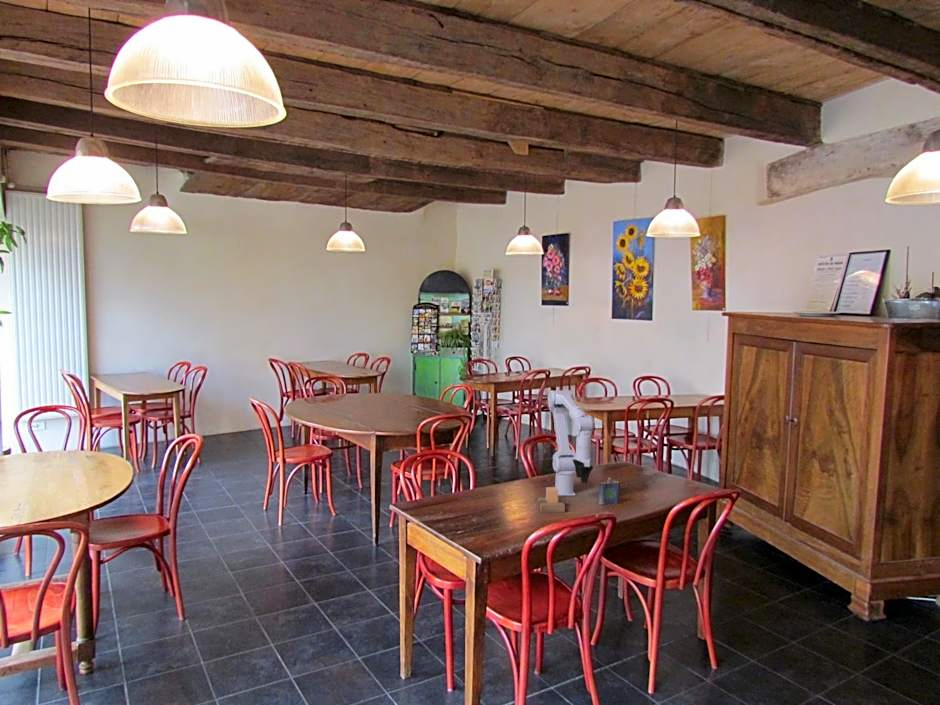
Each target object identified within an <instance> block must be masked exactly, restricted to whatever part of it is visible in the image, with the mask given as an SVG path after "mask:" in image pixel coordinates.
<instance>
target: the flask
mask: <svg viewBox="0 0 940 705" xmlns="http://www.w3.org/2000/svg"><path fill="white" fill-rule="evenodd" d="M606 479H607V480H606V481H602V482H599V487H598V489H599V490H598V502H597V503H598V505H599V506H611V505H619V504H620V492H621V491H620V490H621V482H620V481H618V480H612V479H611V477H606Z"/></svg>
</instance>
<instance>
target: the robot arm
mask: <svg viewBox="0 0 940 705" xmlns="http://www.w3.org/2000/svg"><path fill="white" fill-rule="evenodd" d="M547 404H548V409H549V411H550V412H551V413H552V416H553V417H552V418H553V423H554V431H555V438H556V445H557V450H556V451H555V452H554V454H553V455H552V468H553V470H554V472H555V476H554V478H555V481H554V487H556V488H557V489H558V497H559V496H576V493H575V492H574V483H575V482H574V480H575V479H574V478H575V475H576V478H580V480H581V481H580V482H581V483H582V484H587V483H588V482H589V477H590V474H591V472H592V470H593V468H594V466H593V465H591V459H592V458H591V447H592V446H591V442H592V431H594V429H595V421H594V417H593V416H592V415H587V414H586V412H585V411H584V409H582V407H581V406H579V405H577V404H576V403H575V400H574V393H573V391H572V390H570V389H566V390H563V389H561V390H553V389H552V390H551V389H550V390H549V392H548V394H547ZM566 412H568V416H569V417H570V418H571V420H572V421H573V423H574V424H573V425H574V434H575V435H576V440H575V451H574V450H572V449H571V448H570V441H569V435H568V429H567V428H568V427H567V421H566V416H565V413H566Z"/></svg>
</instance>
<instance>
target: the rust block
mask: <svg viewBox="0 0 940 705" xmlns="http://www.w3.org/2000/svg"><path fill="white" fill-rule="evenodd" d="M545 498H546V501H547V502H548V503H558V498H559V496H558V489H557V488H556V487H555V486H551V487H550V486H549V487H545Z"/></svg>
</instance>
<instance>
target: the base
mask: <svg viewBox="0 0 940 705" xmlns="http://www.w3.org/2000/svg"><path fill="white" fill-rule="evenodd" d="M537 506H538V509H539V510H540V512H541V513H565V511H566V504H565V503H564V502H563V500H562V499H561V497H558V503H548V502H547V501H546V497H537Z"/></svg>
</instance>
